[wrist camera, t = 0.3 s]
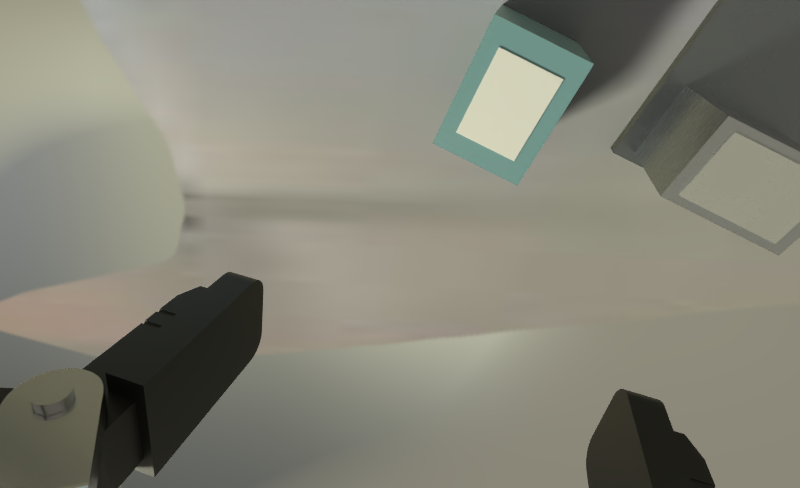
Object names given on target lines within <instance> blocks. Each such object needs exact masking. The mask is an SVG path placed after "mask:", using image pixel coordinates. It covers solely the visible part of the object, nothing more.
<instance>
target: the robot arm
mask: <svg viewBox="0 0 800 488" xmlns="http://www.w3.org/2000/svg"><path fill="white" fill-rule="evenodd" d="M262 310H263V284H262V282H261V281H259V280H256V279H253V278H249V277H246V276H243V275H239V274H236V273H232V272H228V273H226V274H224V275H223V276H222V277H220V278H219V279H218V280H217V281H216V282H214V283H213V284H212V285H211V286H210V287H208V288H205V287H202V286H200V287H197V288H195V289H192V290H190V291H187V292H185V293H182V294H180V295H177V296H176V297H175V298H174V299H172V300H171V301H170V302H168V303H167V304H166V305H164V306H163V307H162V308H161V309H160V311H159V312H155V313H154V314H153V315H152V316H150V317H149V318H148V319H146V320H145V323H144V324H142V323H141V324H140V325H139V326H137V327H136V328H135V329H134V330H132V331H131V332H130V333H128V334H127V335H126V336H125V337H123V338H122V339H121V340H119V341H118V342H117V343H115V344H114V345H113V346H112V347H110V348H109V349H108V350H106V351H105V352H104V353H103V354H101V355H100V356H99V357H97V358H96V359H95V360H94V361H92V362H91V363H90V364H89V365H87V366H86V367H85V368H83V369H77V368H68V369H59V370H53V371H49V372H46V373H43V374H40V375H37V376H35V377H33V378H31V379H29V380H27V381H25V382H23V383H22V384H20V385H19V386H17V387H16V388H0V488H121V484H122V483H123V482H124V481H125V479H126V478H127V477H128V476H129V475H130V474H131V473H132V471H133V470H137V471H139V472H142V473H145V474H147V475H150V476H153V477H155V476H156V475H157V474H158V472H159V471H160V470H161V469H162V468H163V466H164V465H165V464H166V463H167V461H168V460H169V459H170V458H171V457H172V455H173V454H174V453H175V451H176V450H177V449H178V448H179V447H180V446H181V444H182V443H183V442H184V441H185V439H186V438H187V437H188V436H189V435H190V434H191V432H192V431H193V430H194V429H195V427H196V426H197V425H198V424H199V423H200V421H201V420H202V419H203V418H204V417H205V415H206V414H207V413H208V412H209V410H210V409H211V408H212V407H213V405H214V404H215V403H216V402H217V401H218V399H219V398H220V397H221V396H222V395H223V393H224V392H225V391H226V390H227V389H228V387H229V386H230V385H231V384H232V382H233V381H234V380H235V379H236V378H237V376H238V375H239V374H240V373H241V372H242V370H243V369H244V368H245V367H246V365H247V364H248V363H249V362H250V360H251V359H252V358H253V356H254V355H255V353H256V351H257V348H258V346H259V343H260V339H261V334H262ZM586 469H587V477H588V485H589V488H715V484H714V482H713V479H712V477H711V474H710V472H709V469H708V467H707V464H706V462H705V460H704V458H703V457H702V456H701V455H700V453H699V452H698V451H697V449H696V448H695V447H694V446H693V445H692V443H691V442H690V441H689V439H688V438H687V437H686V436H685V435H684V434H682V433H678V432H675V431H673V428H672V426H671V423H670V420H669V417H668V415H667V412H666V409H665V406H664V404H663V403H662V402H661V401H660V400H658V399H654V398H651V397H647V396H644V395H641V394H638V393H634V392H631V391H627V390H624V389H620V390H618V391H617V392H616V393H615V395H614V396H613V398H612V400H611V402H610V404H609V406H608V408H607V410H606V412H605V413H604V415H603V417H602V419H601V421H600V423H599V425H598V427H597V429H596V430H595V432H594V434H593V436H592V438H591V440H590V443H589V446H588V451H587V458H586Z"/></svg>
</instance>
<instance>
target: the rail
mask: <svg viewBox="0 0 800 488" xmlns="http://www.w3.org/2000/svg"><path fill="white" fill-rule="evenodd" d="M611 149H612V151H613V153H615V154H617V155H619V156H621V157H623V158H625V159H627V160H629V161H631V162H633V163H635V164H637V165H639V166H641V167H643V168H644V169H645V171H646V173H647V174H648V176H649V178H650V179H651V181H652V183H653V184H654V186H655V188H656V189H657V191H658V193H659V194H660V196H661V197H663V198H665V199H667V200H669V201H671V202H673V203H675V204H677V205H679V206H681V207H683V208H685V209H687V210H689V211H691V212H693V213H695V214H697V215H699V216H701V217H703V218H705V219H707V220H709V221H711V222H713V223H715V224H717V225H719V226H721V227H723V228H725V229H727V230H729V231H731V232H733V233H735V234H737V235H739V236H741V237H743V238H745V239H747V240H749V241H751V242H753V243H755V244H757V245H759V246H761V247H763V248H765V249H767V250H769V251H771V252H773V253H775V254H777V255H780V254H781V253H782V252H783V251H784V250H785V249H787V248H788V247H789V246H790V245H791V244H792V243H793V242H794V241H796V240H797V239H798V238H799V237H800V0H718V1H717V3H716V4H715V5H714V7H713V8H712V10H711V11H710V12H709V14H708V15H707V16H706V18H705V19H704V21H703V22H702V23H701V25H700V26H699V27H698V29H697V30H696V32H695V33H694V34H693V36H692V37H691V38H690V40H689V41H688V43H687V44H686V45H685V47H684V48H683V49H682V51H681V52H680V53H679V55H678V56H677V58H676V59H675V60H674V62H673V63H672V64H671V66H670V67H669V69H668V70H667V71H666V73H665V74H664V75H663V77H662V78H661V80H660V81H659V82H658V84H657V85H656V86H655V88H654V89H653V91H652V92H651V93H650V95H649V96H648V97H647V99H646V100H645V102H644V103H643V104H642V106H641V107H640V108H639V110H638V111H637V113H636V114H635V115H634V117H633V118H632V119H631V121H630V122H629V124H628V125H627V126H626V128H625V129H624V130H623V132H622V133H621V135H620V136H619V137H618V139H617V140H616V141H615V143H614V144H613V146H612V147H611Z"/></svg>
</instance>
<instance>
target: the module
mask: <svg viewBox="0 0 800 488" xmlns="http://www.w3.org/2000/svg"><path fill="white" fill-rule="evenodd" d="M593 65H594V63H593V62H592V61H591V59H590V58H589V57H588V55H587V54H586V52H585V51H584V50H583V48H582V47H581V46H580V44H579V43H578V42H576V41H574V40H572V39H570V38H568V37H566V36H564V35H562V34H560V33H558V32H556V31H554V30H552V29H550V28H548V27H546V26H544V25H542V24H540V23H538V22H536V21H534V20H532V19H530V18H528V17H526V16H524V15H522V14H520V13H518V12H517V11H515V10H513V9H511V8H509V7H507V6H505V5H502V6H501V7H500V8H499V9H498V11H497V12H496V13H495V14H494V17H493V19H492V21H491V23H490V25H489V27H488V29H487V31H486V33H485V35H484V37H483V39H482V41H481V44H480V46H479V48H478V50H477V52H476V54H475V56H474V58H473V60H472V62H471V64H470V66H469V69H468V71H467V73H466V75H465V77H464V79H463V81H462V83H461V85H460V87H459V89H458V91H457V93H456V96H455V98H454V100H453V102H452V104H451V106H450V108H449V110H448V112H447V114H446V116H445V118H444V120H443V123H442V125H441V127H440V129H439V131H438V133H437V135H436V137H435V139H434V141H433V144H435V145H437V146H439V147H441V148H443V149H445V150H447V151H449V152H451V153H453V154H455V155H457V156H459V157H461V158H463V159H465V160H467V161H469V162H471V163H473V164H475V165H477V166H479V167H481V168H483V169H485V170H487V171H489V172H491V173H493V174H495V175H497V176H499V177H501V178H503V179H505V180H507V181H509V182H511V183H513V184H515V185H518V184H519V182H520V181H521V179H522V177H523V176H524V174H525V173H526V171H527V169H528V168H529V166H530V165H531V163H532V162H533V160H534V158H535V157H536V155H537V154H538V152H539V151H540V149H541V147H542V146H543V144H544V143H545V141H546V139H547V138H548V136H549V135H550V133H551V132H552V130H553V128H554V127H555V125H556V124H557V122H558V120H559V119H560V117H561V116H562V114H563V113H564V111H565V109H566V108H567V106H568V105H569V103H570V102H571V100H572V98H573V97H574V95H575V94H576V92H577V90H578V89H579V87H580V86H581V84H582V83H583V81H584V79H585V78H586V76H587V75H588V73H589V71H590V70H591V68H592V67H593Z"/></svg>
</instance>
